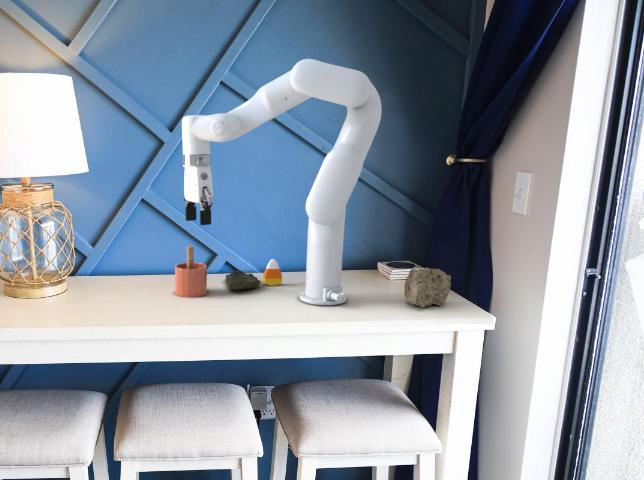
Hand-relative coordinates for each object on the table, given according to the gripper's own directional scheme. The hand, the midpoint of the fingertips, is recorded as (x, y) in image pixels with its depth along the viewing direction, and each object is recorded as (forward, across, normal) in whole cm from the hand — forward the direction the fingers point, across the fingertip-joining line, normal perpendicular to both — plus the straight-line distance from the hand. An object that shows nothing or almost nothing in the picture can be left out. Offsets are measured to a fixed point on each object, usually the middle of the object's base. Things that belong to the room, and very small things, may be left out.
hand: (198, 222), depth 180 cm
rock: (+22, -39, -50) cm, 67 cm away
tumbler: (+20, -1, +3) cm, 20 cm away
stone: (+21, 0, -14) cm, 25 cm away
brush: (+20, 0, +3) cm, 20 cm away
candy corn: (+21, -3, -23) cm, 31 cm away
